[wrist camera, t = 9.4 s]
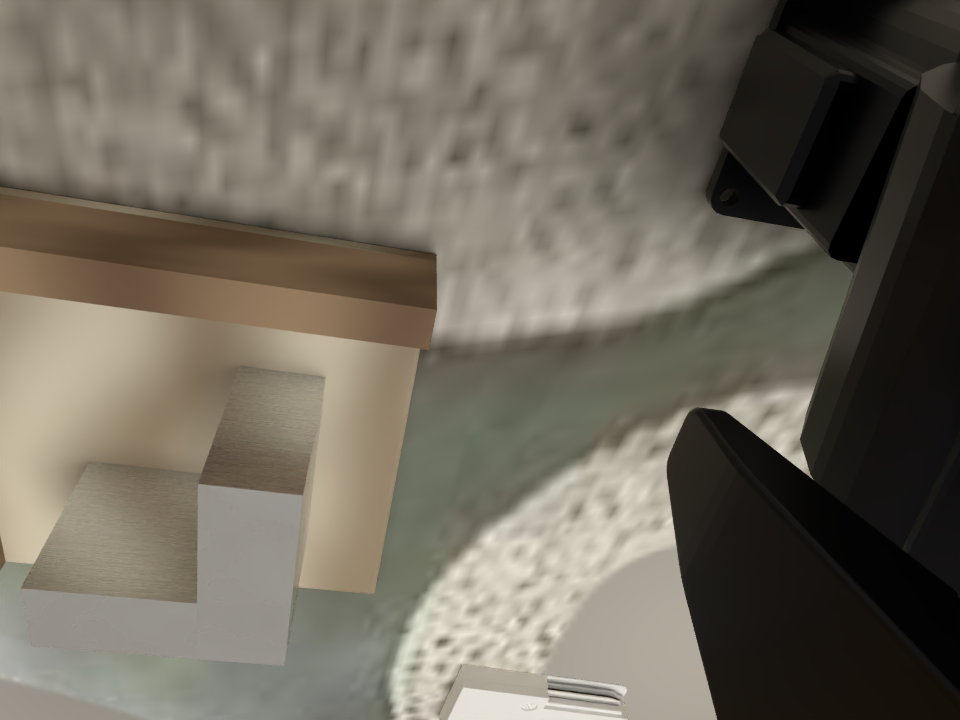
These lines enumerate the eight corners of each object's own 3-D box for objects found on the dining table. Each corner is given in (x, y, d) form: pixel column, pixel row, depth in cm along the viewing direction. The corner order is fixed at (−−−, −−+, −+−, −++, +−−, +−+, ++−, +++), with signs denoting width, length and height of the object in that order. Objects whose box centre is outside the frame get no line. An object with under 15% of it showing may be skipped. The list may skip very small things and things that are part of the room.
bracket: (307, 538, 27) (284, 665, 23) (95, 516, 26) (31, 646, 22) (326, 377, 23) (303, 495, 19) (78, 343, 22) (-3, 461, 18)
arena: (436, 254, 22) (436, 309, 19) (375, 585, 29) (369, 655, 27) (-117, 168, 19) (-197, 218, 17) (-27, 549, 27) (-73, 621, 25)
